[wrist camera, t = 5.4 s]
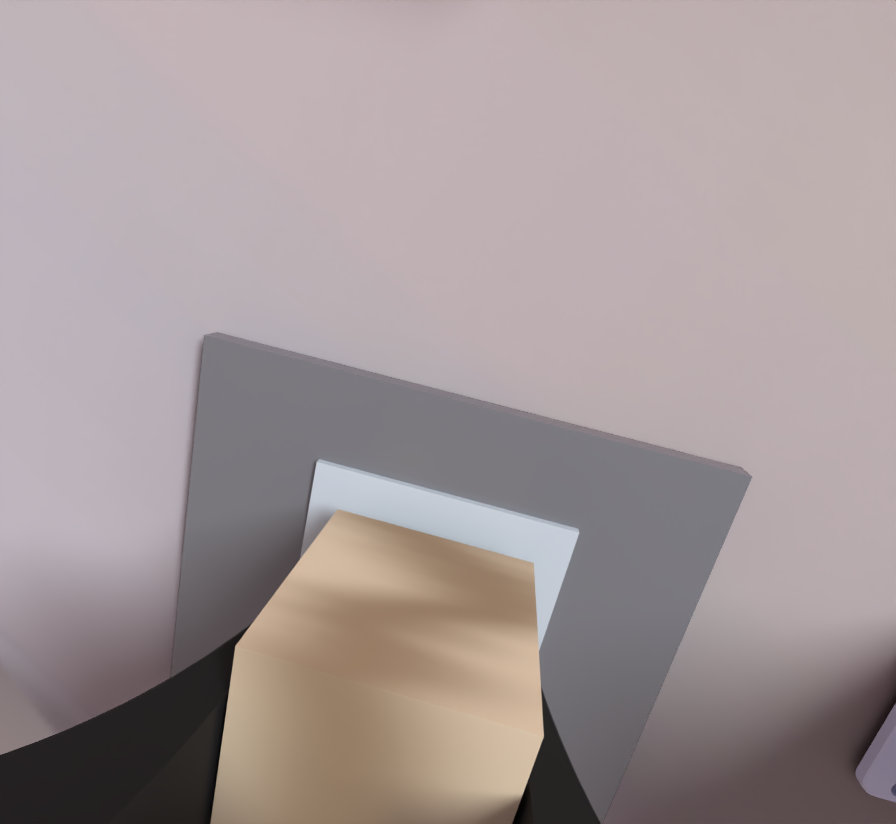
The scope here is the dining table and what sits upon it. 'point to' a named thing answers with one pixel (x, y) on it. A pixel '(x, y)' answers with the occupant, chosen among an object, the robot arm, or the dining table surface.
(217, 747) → the robot arm
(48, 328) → the dining table surface
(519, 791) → the beech block
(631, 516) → the baseplate
